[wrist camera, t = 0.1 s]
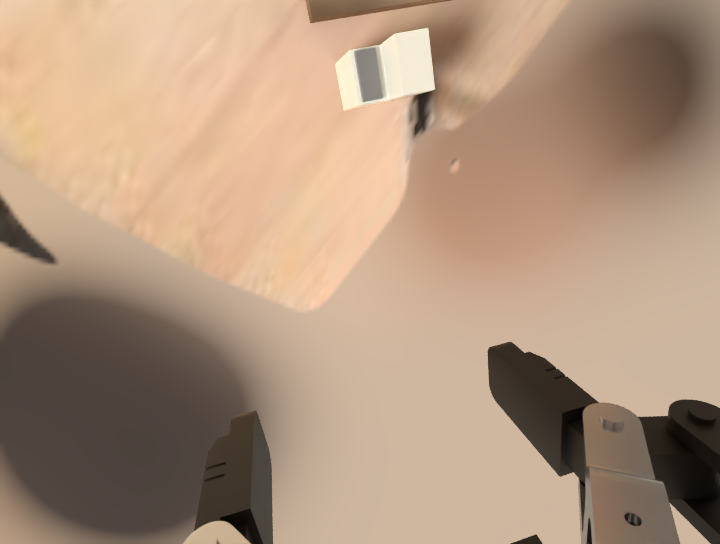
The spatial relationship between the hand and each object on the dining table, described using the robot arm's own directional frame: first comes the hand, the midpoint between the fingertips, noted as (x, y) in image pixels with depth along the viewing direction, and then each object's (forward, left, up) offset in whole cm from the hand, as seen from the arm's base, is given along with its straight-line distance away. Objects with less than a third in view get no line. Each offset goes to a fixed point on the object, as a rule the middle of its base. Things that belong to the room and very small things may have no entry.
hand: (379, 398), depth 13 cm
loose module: (-12, +9, -29) cm, 33 cm away
